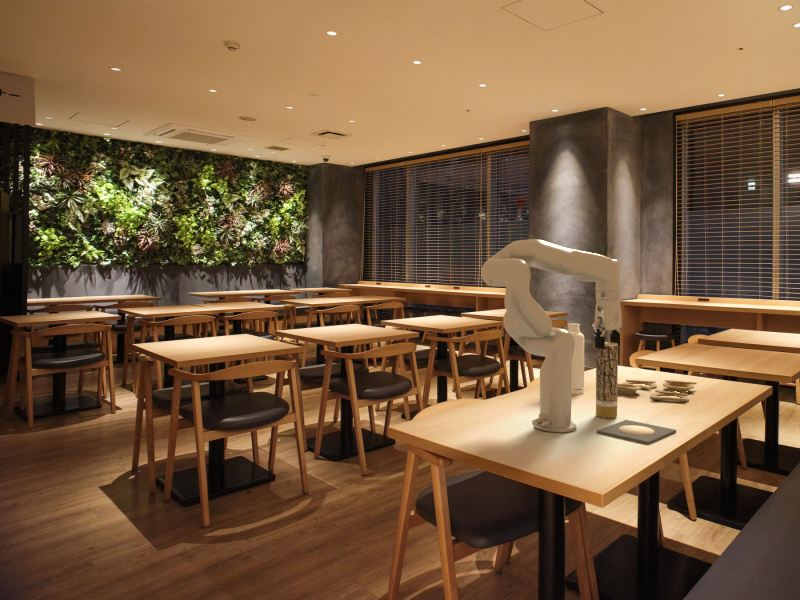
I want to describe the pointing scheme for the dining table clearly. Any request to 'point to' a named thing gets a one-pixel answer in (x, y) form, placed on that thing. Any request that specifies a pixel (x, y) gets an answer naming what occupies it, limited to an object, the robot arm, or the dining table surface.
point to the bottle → (577, 360)
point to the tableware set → (672, 385)
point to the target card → (637, 431)
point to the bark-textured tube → (606, 380)
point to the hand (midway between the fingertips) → (607, 346)
